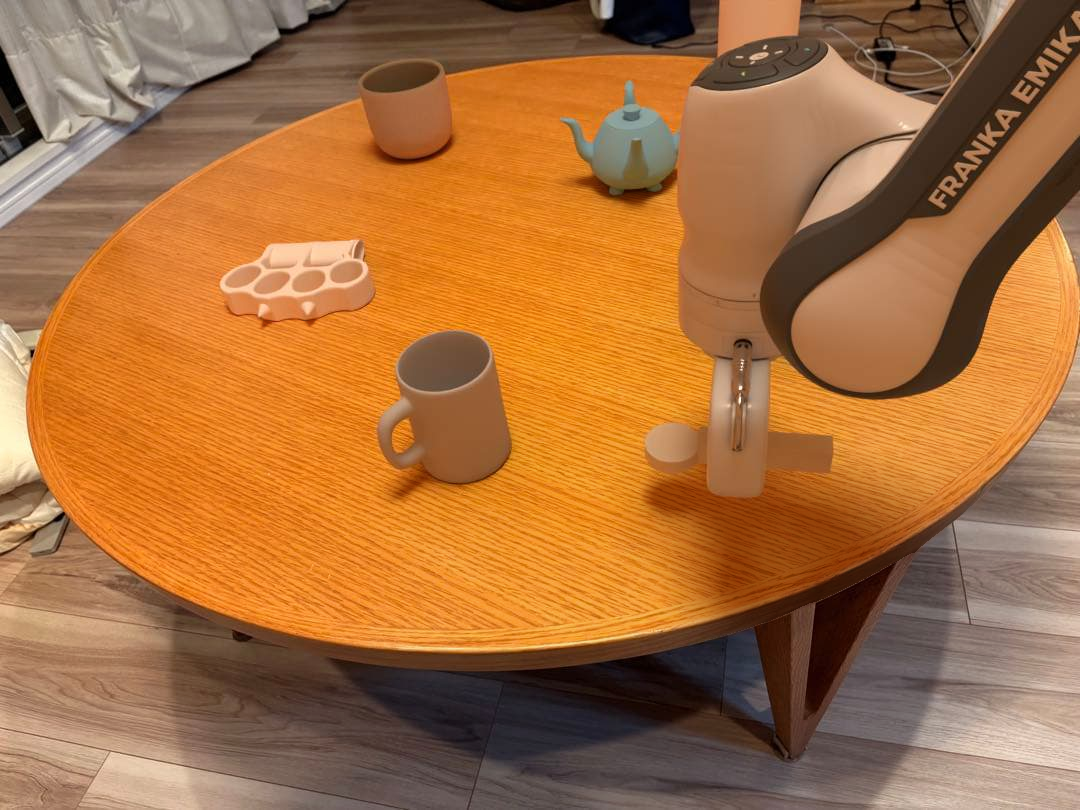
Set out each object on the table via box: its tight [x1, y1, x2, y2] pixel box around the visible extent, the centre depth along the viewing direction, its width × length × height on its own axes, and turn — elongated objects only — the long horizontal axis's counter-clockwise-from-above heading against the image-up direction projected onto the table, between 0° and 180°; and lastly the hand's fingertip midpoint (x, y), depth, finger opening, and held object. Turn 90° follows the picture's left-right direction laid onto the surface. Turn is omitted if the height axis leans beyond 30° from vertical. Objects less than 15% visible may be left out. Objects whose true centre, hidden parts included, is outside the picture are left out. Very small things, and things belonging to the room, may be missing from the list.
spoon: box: [643, 422, 835, 475], centre depth 64 cm, size 14×4×2 cm, turn 78°
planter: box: [357, 58, 453, 160], centre depth 120 cm, size 12×12×11 cm
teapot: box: [558, 80, 680, 196], centre depth 106 cm, size 13×13×10 cm
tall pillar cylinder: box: [716, 0, 802, 58], centre depth 112 cm, size 11×11×25 cm
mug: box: [376, 329, 512, 484], centre depth 72 cm, size 12×8×11 cm
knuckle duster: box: [219, 238, 376, 322], centre depth 98 cm, size 3×18×15 cm
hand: (737, 443), depth 64 cm, fingers closed on spoon, 2 cm apart
